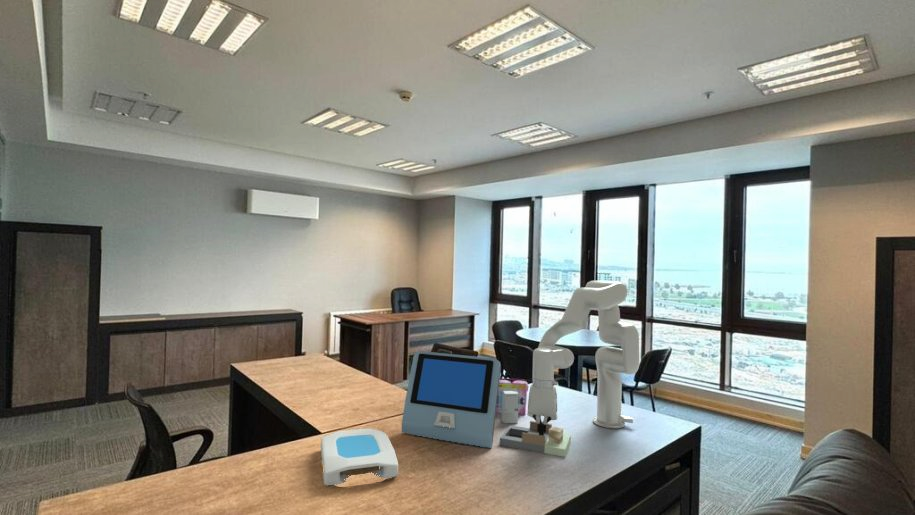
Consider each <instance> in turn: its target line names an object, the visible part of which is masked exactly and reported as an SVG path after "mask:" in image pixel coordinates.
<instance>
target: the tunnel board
mask: <svg viewBox="0 0 915 515" xmlns="http://www.w3.org/2000/svg"><path fill="white" fill-rule="evenodd" d="M552 424H553V423H549V422H548V423H547V425H546V433H545V434H544V436H542V435H539V432H537V425H538V424H537V422H536V421H535V420H530V421H529V428H528V427H522V426H516V425H511V424H510V425H509V426H508V427H507V429H506V430H505V431H504V432H503V434H502V435H500V437H499V446H503V447H509V448H513V449H514V448H515V449H520V450H524V451H530V452H536V453H540V454H541V453H542V454H547V455H552V456H553V455H554V456H559V457H563V458H565V457H566V456H567V453H568V450H569V448H570V446H571V442H572V435H571V434H566V433H563V440H562V442H561V443H560V444H558V443H554V442H550V441H549V429H550V428H551V427H552V426H553V425H552Z"/></svg>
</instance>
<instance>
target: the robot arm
mask: <svg viewBox="0 0 915 515" xmlns="http://www.w3.org/2000/svg"><path fill="white" fill-rule="evenodd" d="M571 295H572V296H571V297H570V300H569V302H568V304H567V307H566V309H565V310H564V312H563V315H562V318H561V319H559V320H558V321H556V323H554V324H553V325H552V326H551V327H549V328H548V329H547V330H546V331H545V333H544V334H543V336H542V337H541V339H540V341H539V344H538V347H537V348H535V349H534V350H533V352H532V382H531V383H532V384H531V385H530V387H529V390H528V391H529V392H528V398H527V399H528V400H527V413H526V414H527V416H528V417H531V418H533V419H534V421H536V422H537V424H538V425H537V432H539V435H542V436H544V434H545V433H546V425H547V423H549V422H550V421H557V420H558V415H557V414H558V395H557V394H558V393H557V389H556V387H555V386H558V385H559V384H558V383H559V382H558V381H556V380H555V378H554V375H555V373H554V372H555V369H568V368H571V366H573V363H574V360H575V356H574V353H573V352H572V350H570V349H569V348H566V347H562V346H559V345H556V343H558V342H559V341H560V340H561V339H562V338H563V337H565V336H568V335H570V334H571V335H572V334H574V333H576V332H579V331H581V330H582V329H583V328H584V327H585V324H586V322H587V319H588V316H589V314H590V312H591V311H597V314H598V315H597V316H598V318H597V319H598V338H599V340H600V341H601V342H602V343H603V344H607V346H606V345H603V346H601V347H599V348H597V350H596V351H595V355H594V356H595V364H596V372H597V384H596V385H597V394H596V396H597V397H596V399H597V400H596V416H594V417H593V418H592V422H593V424H595V425H597V426H600V427H602V428H607V429H622V428H625V427H626V423H629V424H634V417H630V416H626V415H624V414H623V412H622V390H623V389H622V388H623V387H622V386H623V385H622V384H623V383H622V378H621V375H620V373H621V374H625V375H635V374H636V373H637V372H638V370H639V368H640V334H639V331H638V328H637V327H636V326H635V325H634V324H632V323H628V322H622V321H621V312H620V307H619V305H621V304H622V303H623V302H624V301H625V300H626V298H627V296H628V288H627V286H626V284H624V283H623V282H622V281H621V282H620V281H611V280H610V281H609V280H590V281H588V282H587V283H586V285H585V287H578V288H576V289H575V290H574V292H573V293H572V294H571ZM608 344H609V346H608ZM610 345H613V346H610ZM614 346H619V347H621V348H619V347H614ZM542 417H543V420H542Z"/></svg>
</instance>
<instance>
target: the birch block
mask: <svg viewBox="0 0 915 515" xmlns="http://www.w3.org/2000/svg"><path fill="white" fill-rule="evenodd" d="M563 434H564V428H561V427H557V426H553V425H552V427H551V428H550V429H549V441H550V442H554V443H558V444H560V443H561V442H562V440H563Z"/></svg>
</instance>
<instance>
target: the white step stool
mask: <svg viewBox="0 0 915 515" xmlns="http://www.w3.org/2000/svg"><path fill="white" fill-rule="evenodd" d="M396 454H397V453H396V451H395V448H394V446H393V445H392V443H391V440H390V438H389V436H388V434H386V433H385V432H384V431H382V430H380V429H374V428H370V427H369V428H359V429H358V428H357V429H348V430H339V431H338V430H337V431H335V432H332V433H329V434H327V435H324V436H321V438H320V455H321V456H320V457H322V460H321V463H322V462H323V465H324V475H323V474H322V478H323V485H325V486H328V485H335V484H336V485H337V484H341V483H344V482H346V481H345V480H346V478H348V477H349V476H351V475H349V476H348V475H346V474H341V473H342V472H345V471H348V470H355V469H356V470H358V469H363V468H372V467H378V466H380V469H379V470H378V469H376V470H377V471H376V470H372V471H373V472H372V473H374V475H375V474H376V473H377V474H376V476H377V475H378V476H379V475H380V476H379V477H381V478H390V479H392V477H393V478H394V477H397V476H398V474H399V461H398V459H397V455H396ZM369 472H370V473H371V471H369ZM344 479H345V480H344Z"/></svg>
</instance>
